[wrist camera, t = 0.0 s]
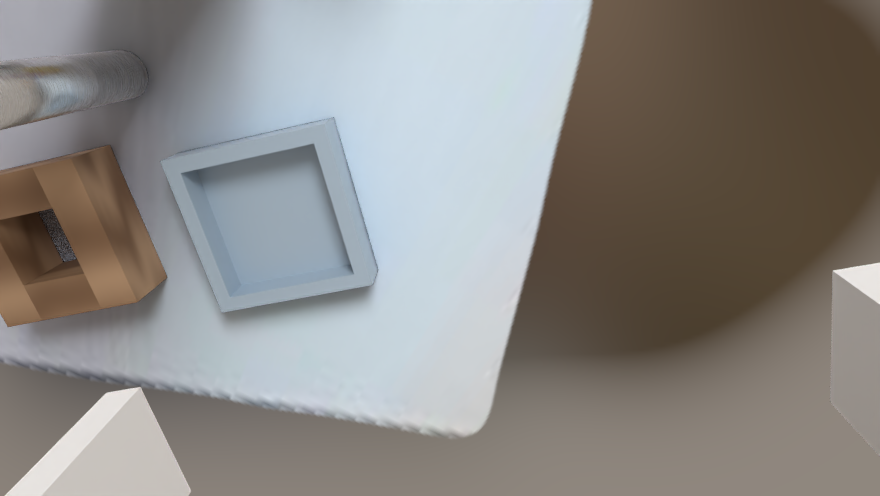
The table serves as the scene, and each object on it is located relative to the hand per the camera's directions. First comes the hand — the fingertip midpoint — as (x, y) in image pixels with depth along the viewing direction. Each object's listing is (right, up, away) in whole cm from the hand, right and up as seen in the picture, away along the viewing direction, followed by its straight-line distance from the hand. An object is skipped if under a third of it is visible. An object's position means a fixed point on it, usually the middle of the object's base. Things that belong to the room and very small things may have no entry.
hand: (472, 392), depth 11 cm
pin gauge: (-21, +14, +26) cm, 36 cm away
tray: (-12, +5, +29) cm, 32 cm away
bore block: (-27, +4, +30) cm, 41 cm away
